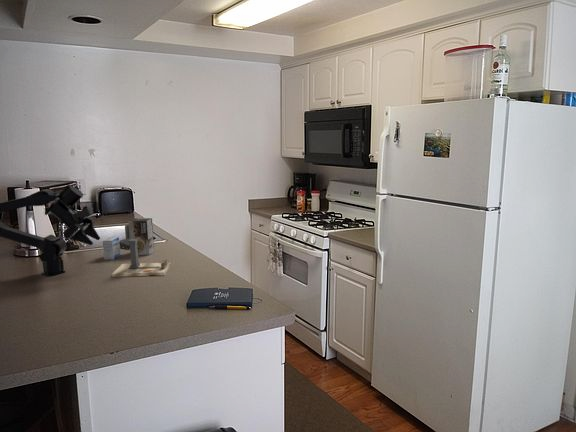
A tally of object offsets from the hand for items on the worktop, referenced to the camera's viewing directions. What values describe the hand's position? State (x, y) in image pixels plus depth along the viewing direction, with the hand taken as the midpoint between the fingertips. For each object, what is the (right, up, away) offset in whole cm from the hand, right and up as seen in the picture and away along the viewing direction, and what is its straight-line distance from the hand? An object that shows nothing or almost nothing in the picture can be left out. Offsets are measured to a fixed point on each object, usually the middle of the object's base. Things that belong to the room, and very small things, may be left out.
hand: (95, 241), depth 181 cm
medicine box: (-3, -9, +24) cm, 26 cm away
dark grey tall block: (+15, -10, +3) cm, 18 cm away
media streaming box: (0, -5, +48) cm, 48 cm away
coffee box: (+9, -7, +31) cm, 33 cm away
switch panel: (+18, -12, +3) cm, 22 cm away
